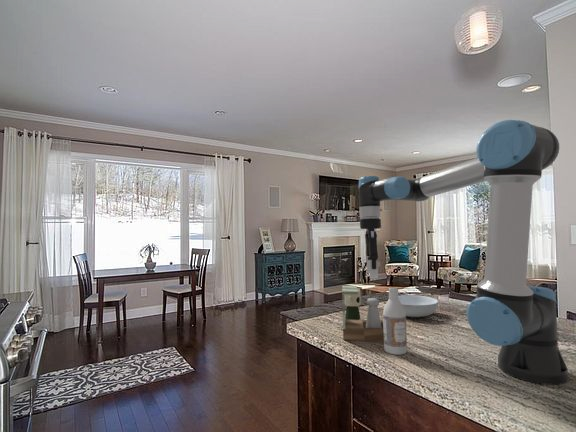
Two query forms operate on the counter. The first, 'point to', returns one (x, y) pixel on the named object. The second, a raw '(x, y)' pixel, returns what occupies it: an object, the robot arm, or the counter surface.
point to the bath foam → (394, 325)
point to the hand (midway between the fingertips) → (372, 275)
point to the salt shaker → (373, 314)
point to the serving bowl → (418, 305)
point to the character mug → (353, 306)
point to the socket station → (358, 323)
